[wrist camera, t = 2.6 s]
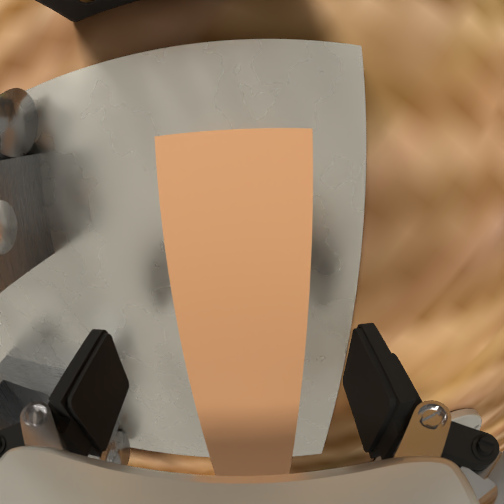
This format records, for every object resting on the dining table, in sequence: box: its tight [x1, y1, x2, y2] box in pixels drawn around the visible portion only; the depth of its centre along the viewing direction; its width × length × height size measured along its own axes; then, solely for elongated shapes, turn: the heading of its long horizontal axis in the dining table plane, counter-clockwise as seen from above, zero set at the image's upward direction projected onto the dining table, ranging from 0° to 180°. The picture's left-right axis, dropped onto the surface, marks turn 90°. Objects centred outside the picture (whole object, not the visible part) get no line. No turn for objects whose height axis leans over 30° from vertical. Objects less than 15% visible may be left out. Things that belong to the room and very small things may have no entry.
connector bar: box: [155, 128, 313, 476], centre depth 12 cm, size 17×4×4 cm, turn 2°
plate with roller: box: [0, 39, 366, 465], centre depth 11 cm, size 25×28×7 cm
